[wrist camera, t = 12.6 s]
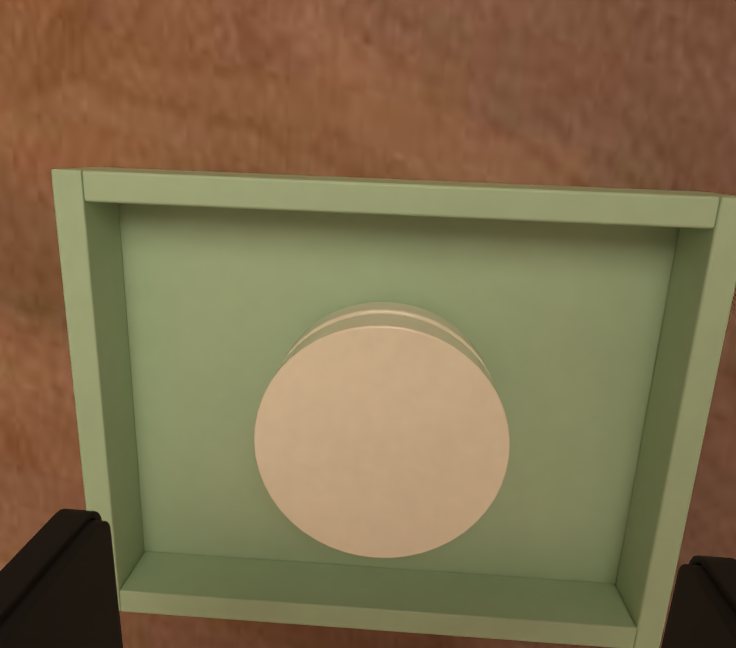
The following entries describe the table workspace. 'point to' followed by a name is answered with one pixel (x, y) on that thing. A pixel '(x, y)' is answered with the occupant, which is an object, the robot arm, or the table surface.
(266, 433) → the beige round container
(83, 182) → the tray
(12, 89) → the table surface
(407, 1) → the table surface
